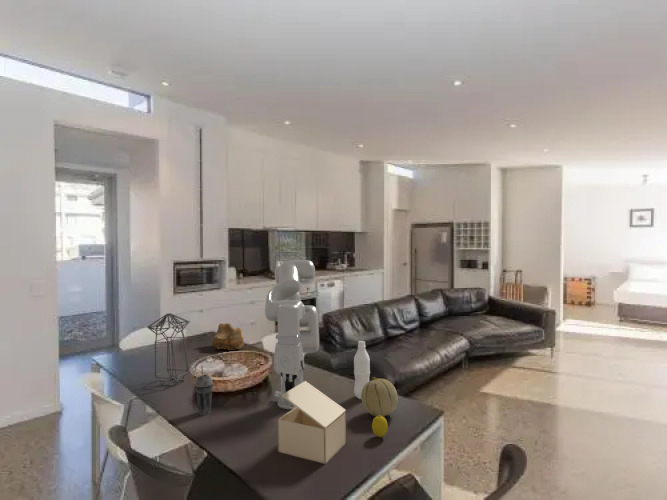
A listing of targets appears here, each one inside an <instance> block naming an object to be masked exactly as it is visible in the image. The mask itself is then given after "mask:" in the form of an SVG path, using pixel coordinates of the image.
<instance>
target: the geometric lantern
mask: <svg viewBox="0 0 667 500" xmlns="http://www.w3.org/2000/svg"><path fill="white" fill-rule="evenodd" d="M180 320H181V321H180ZM157 322H158V323H157ZM156 323H157V324H156ZM166 323H168V324H167V325H168V327H164V325H165V324H166ZM190 323H191V321H190V320H188V319H186V318H183V317H180V316H177V315H176V314H173V313H171V312H169V313H166V314H164V315H163V316H161V317H160V318H159V319H157V320H155V321H154V322H152V323H151V324H149V325H147V329H149V331H151V332H152V333H154V334H155V341H154V378H155V379H157V380H159V381H160V382H161V383H164V382H166V383H172V385H175V383H177V382H178V381H180V380H183V379H184V380H185V377H186V376H187V375H188V374H189V373H190V368H189V362H188V361H189V360H188V355H187V351H186V350H187V349H186V348H187V347H186V337H185V334H184V329H185V328H186V327H187V325H189V324H190ZM154 324H156V325H154ZM171 326H172V327H171ZM169 329H173V330H174V331H173V332H172V334H171V336H168V335H166V333H165V332H167V331H168V330H169ZM158 332H160V333H158ZM179 333H181V335H182V336H177V334H179ZM174 334H175V335H174ZM158 335H162V336H163V338H160V339H158ZM172 338H173V339H172ZM175 338H177V339H178V340H175ZM157 339H158V340H157ZM169 339H170V341H169ZM162 340H165V341H166V342H163V341H162ZM174 340H175V341H174ZM179 341H183V342H182V343H183V347H184V355H185V356H184V357H185V365H186V369H178V368H177V367H176V357H175V349H174V344H175V343H177V342H179ZM157 344H166V360H167V361H166V368H167V369H166V370H164V371H162V372H160V373H158V372H157ZM170 347H171V348H170ZM170 349H171V350H170ZM170 351H171V353H170ZM171 361H172V363H171ZM171 365H172V367H171ZM177 371H179V372H180V371H182V372H184V373H182V374H180V375H178V374H177ZM174 372H175V375H173V373H174ZM164 373H168V376H167V377H162V376H161V377H160V375H162V374H164ZM169 379H171V380H169ZM172 379H176V380H172ZM177 379H178V380H177ZM168 380H169V381H168ZM161 383H160V384H161Z"/></svg>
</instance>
